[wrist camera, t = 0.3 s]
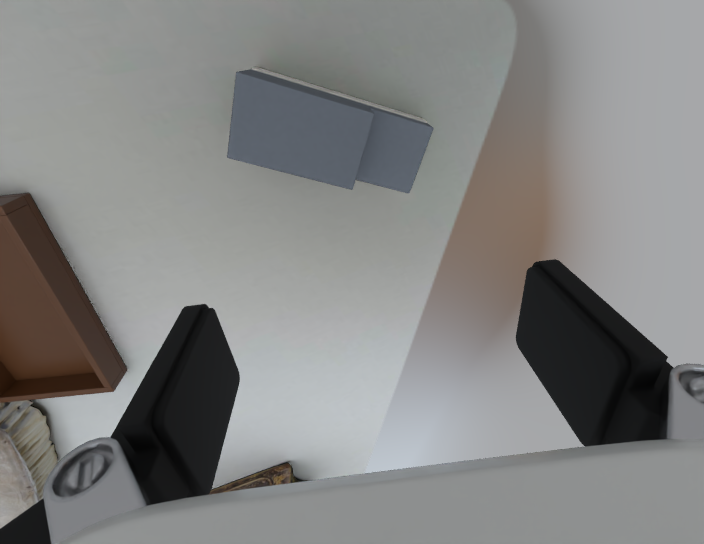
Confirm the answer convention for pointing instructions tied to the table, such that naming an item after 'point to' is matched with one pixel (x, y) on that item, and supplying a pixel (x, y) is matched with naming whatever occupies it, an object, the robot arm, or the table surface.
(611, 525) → the robot arm
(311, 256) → the table surface
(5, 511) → the shoe brush
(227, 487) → the book
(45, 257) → the tray
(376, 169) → the grey stepped block
